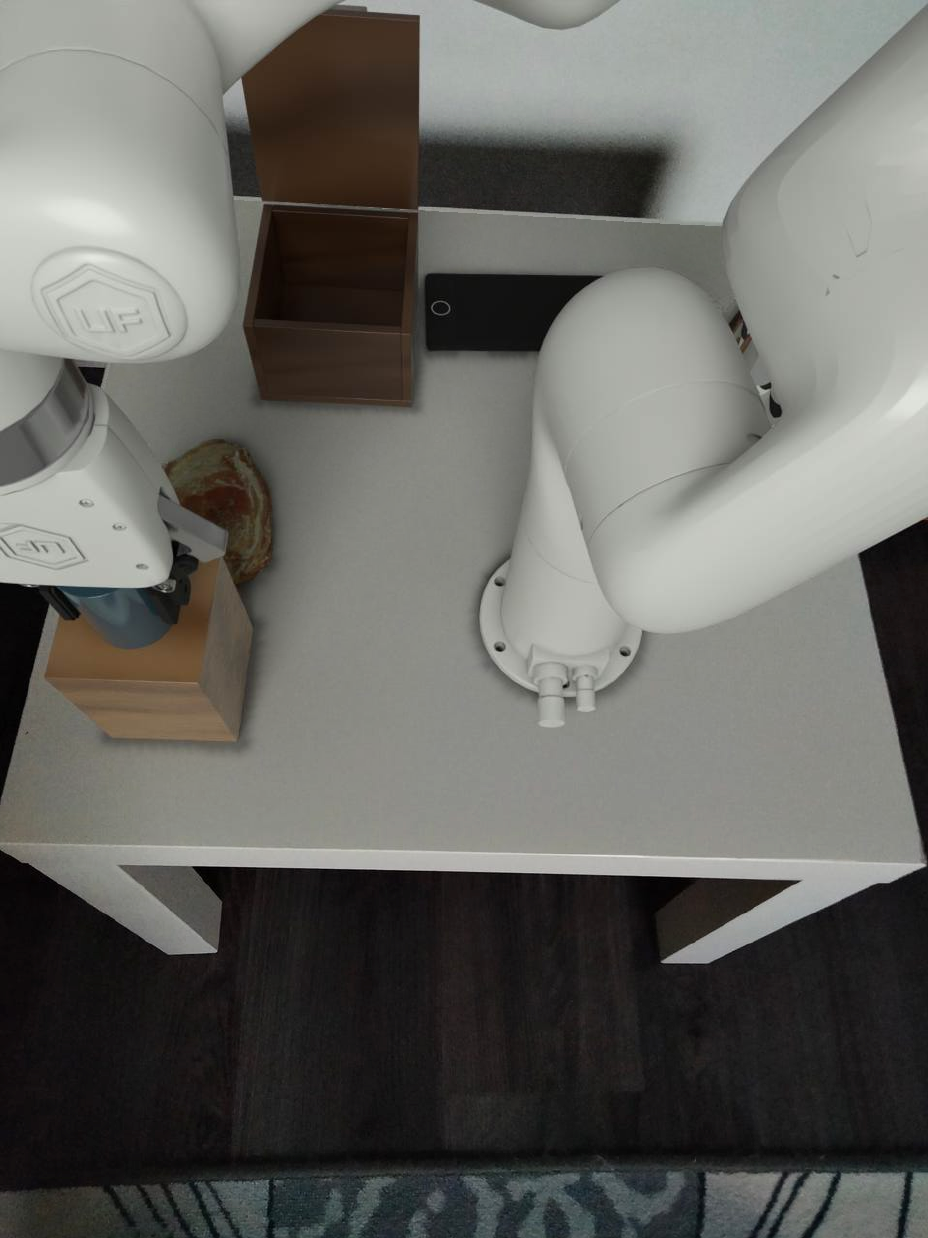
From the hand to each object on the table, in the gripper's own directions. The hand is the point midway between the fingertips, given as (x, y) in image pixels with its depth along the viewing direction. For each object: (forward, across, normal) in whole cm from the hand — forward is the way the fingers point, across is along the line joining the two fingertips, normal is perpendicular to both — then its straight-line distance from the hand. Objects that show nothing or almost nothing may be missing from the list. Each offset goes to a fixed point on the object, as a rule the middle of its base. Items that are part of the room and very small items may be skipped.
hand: (126, 598), depth 49 cm
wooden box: (+14, +9, +33) cm, 37 cm away
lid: (-3, +9, +40) cm, 41 cm away
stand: (+14, 0, 0) cm, 14 cm away
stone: (+14, 0, +14) cm, 20 cm away
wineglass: (+14, +40, +20) cm, 47 cm away
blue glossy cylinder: (+2, 0, 0) cm, 2 cm away
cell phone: (+14, +25, +37) cm, 47 cm away
